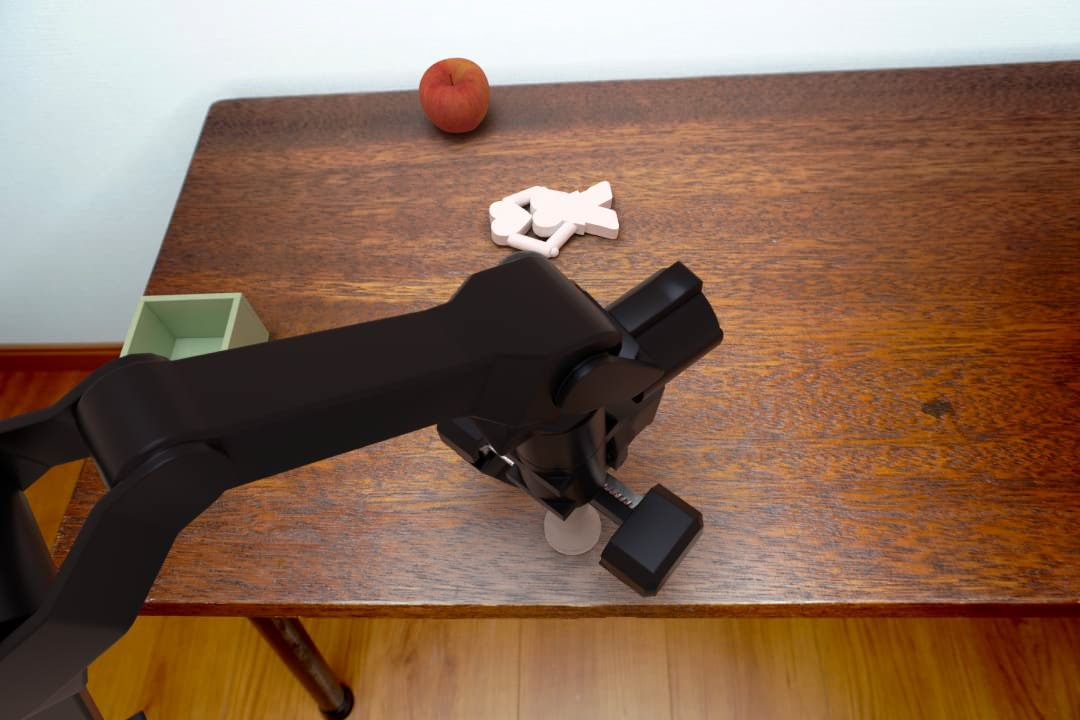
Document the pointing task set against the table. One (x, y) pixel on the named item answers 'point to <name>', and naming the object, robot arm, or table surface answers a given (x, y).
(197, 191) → the table surface
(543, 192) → the white abstract figurine
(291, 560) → the table surface
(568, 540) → the rook chess piece
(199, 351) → the bin
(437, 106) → the apple
